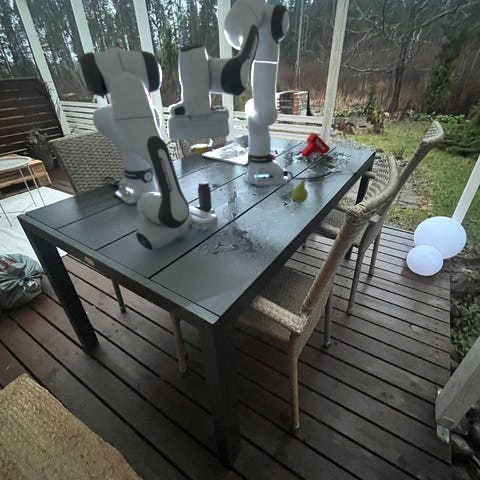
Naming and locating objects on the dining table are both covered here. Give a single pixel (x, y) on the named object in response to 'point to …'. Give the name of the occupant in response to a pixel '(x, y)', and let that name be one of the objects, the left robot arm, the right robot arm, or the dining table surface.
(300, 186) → the fruit
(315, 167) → the dining table surface
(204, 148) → the lid
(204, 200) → the jar
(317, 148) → the toy gun
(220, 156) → the relief map
